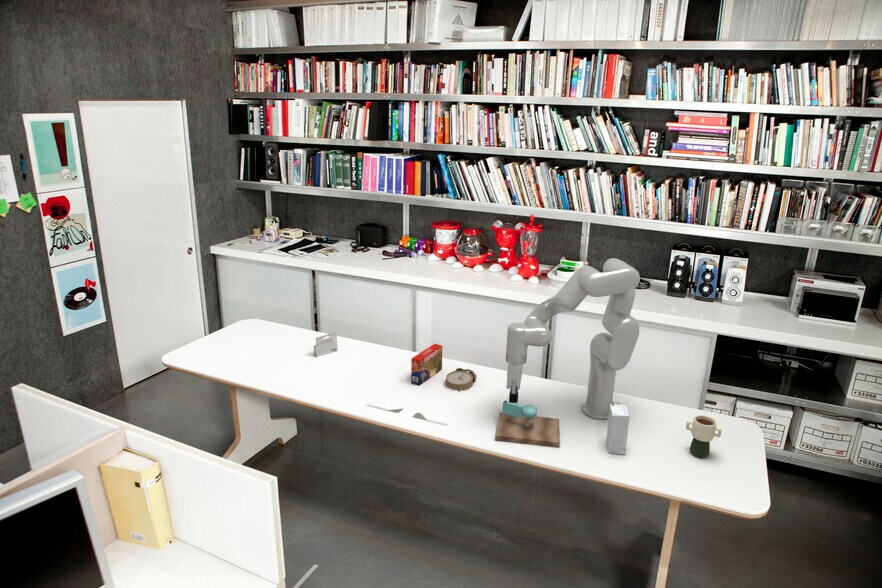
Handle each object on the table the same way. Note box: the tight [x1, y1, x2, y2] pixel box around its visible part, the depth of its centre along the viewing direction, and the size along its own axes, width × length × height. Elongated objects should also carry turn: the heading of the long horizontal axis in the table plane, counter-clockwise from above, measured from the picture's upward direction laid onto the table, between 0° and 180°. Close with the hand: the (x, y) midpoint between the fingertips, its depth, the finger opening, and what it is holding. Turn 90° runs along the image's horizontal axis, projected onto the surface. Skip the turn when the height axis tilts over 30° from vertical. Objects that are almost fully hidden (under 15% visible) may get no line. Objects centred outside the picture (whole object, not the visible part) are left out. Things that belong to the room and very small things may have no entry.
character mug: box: [685, 414, 723, 458], centre depth 200 cm, size 11×7×13 cm, turn 64°
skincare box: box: [605, 404, 630, 456], centre depth 202 cm, size 8×6×15 cm
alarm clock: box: [444, 367, 477, 392], centre depth 247 cm, size 11×5×15 cm
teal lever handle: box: [501, 400, 538, 418], centre depth 212 cm, size 12×5×5 cm, turn 63°
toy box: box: [410, 343, 443, 387], centre depth 250 cm, size 18×4×12 cm, turn 149°
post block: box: [495, 412, 561, 448], centre depth 212 cm, size 22×16×7 cm
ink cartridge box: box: [313, 331, 339, 358], centre depth 271 cm, size 2×11×10 cm, turn 130°
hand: (513, 401), depth 219 cm, fingers closed
